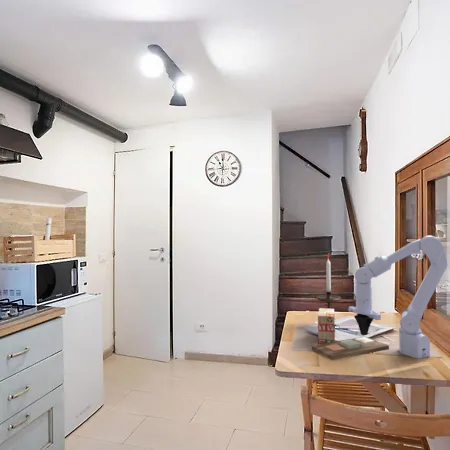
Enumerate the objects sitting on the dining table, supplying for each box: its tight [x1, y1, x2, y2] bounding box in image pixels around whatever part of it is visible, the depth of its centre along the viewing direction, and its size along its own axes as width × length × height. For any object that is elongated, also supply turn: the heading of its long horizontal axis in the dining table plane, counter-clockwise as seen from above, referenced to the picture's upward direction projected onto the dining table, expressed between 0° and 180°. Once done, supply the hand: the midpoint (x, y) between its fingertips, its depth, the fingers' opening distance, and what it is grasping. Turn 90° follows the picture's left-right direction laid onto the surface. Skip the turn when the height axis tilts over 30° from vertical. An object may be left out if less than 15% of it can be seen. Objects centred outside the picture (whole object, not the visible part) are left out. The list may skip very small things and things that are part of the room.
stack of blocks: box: [317, 307, 336, 345], centre depth 151 cm, size 21×6×12 cm, turn 163°
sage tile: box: [339, 339, 360, 349], centre depth 136 cm, size 5×5×2 cm
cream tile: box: [355, 336, 375, 346], centre depth 139 cm, size 5×5×2 cm
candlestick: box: [316, 252, 342, 326], centre depth 167 cm, size 11×11×35 cm
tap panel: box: [311, 335, 390, 361], centre depth 136 cm, size 12×26×2 cm, turn 113°
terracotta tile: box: [325, 344, 345, 352], centre depth 133 cm, size 5×5×2 cm
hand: (364, 334), depth 139 cm, fingers closed
